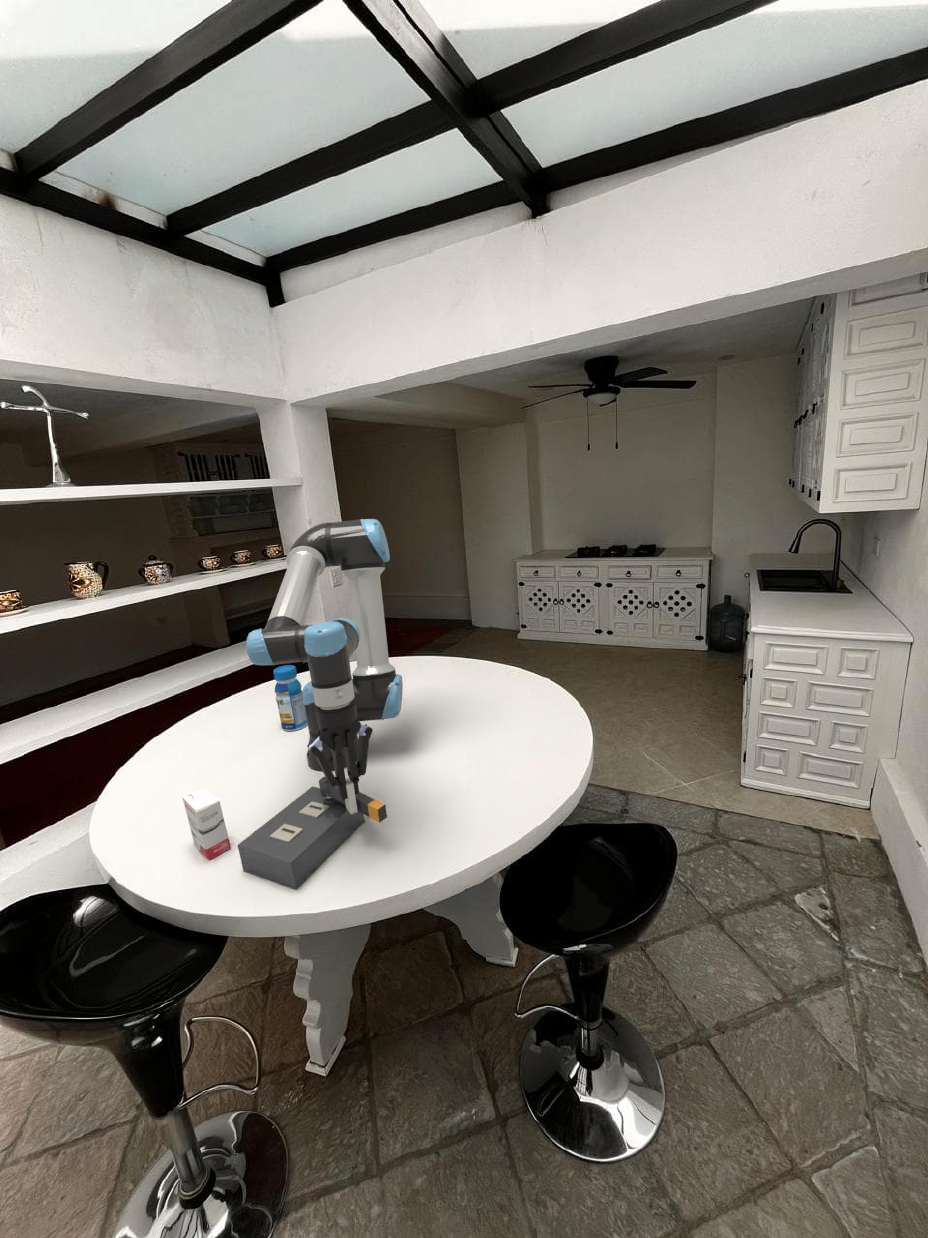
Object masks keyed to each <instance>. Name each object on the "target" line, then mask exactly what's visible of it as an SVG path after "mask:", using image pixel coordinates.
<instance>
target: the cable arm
mask: <svg viewBox="0 0 928 1238" xmlns="http://www.w3.org/2000/svg"><path fill="white" fill-rule="evenodd" d="M318 785H319V788H320V791H321V795H322V796H323V797H331V798H333V799H335V800H337V801H339V802H341V803H343V804H345V805H346V803H345V800H343V799H342V798H341V797H340V795H339V790H338V786H335V787H332V786H331V785H330V783H329V782H328V781H327V779H326V777H325V776H324V777H321V778H320V779H319V781H318ZM355 798H356V804H357V811H358V812H360V813H362V814H364V816H366V817H367V818H369V819H370V820H373V821H375V822H376V823H378V824H381V823H382V822H383V821H385V820H386V819H387V818H388V812H387V806H386V805H387V804H386V803H385V802H382V801H380V800H378V799H376V798H374V797H371V796H369V795H367V794H365V793H363V792H360V791H359V794H357V795H355Z"/></svg>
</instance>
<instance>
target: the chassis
mask: <svg viewBox="0 0 928 1238" xmlns="http://www.w3.org/2000/svg"><path fill="white" fill-rule="evenodd" d="M365 822H366V820H365V815H364V814H362V813H360V812H356V813H354V814H350V812H349V811H348V810H347V809H346V805H345V804H343V803H341V802H339V801H337V800H335V799H333V798H331V797H323V796H322V795H321V791H320V787H316V786H311V787H310V788H308V790H306V791H305V792H303V793H302V794H301V795H300V796H298V797H297V798H296V799H295V800H293V801H292V802H291V803H289V804H288V805H287V806H286V807H284V808H283V809H282V810H281V811H279V812H278V813H276V814H275V815H274V816H272V818H270V819H269V820H267V821H266V822H265V823H264V824H262V825H261V826H260V827H258V828H257V829H256V830H255V831H253V832H252V833H251V834H249V835H248V836H247V837H246V838H245V839H243V840H242V841H241V842H240V843H238V844H237V849H238V854H239V858H240V863H241V865H242V870H243V871H242V872H245V873H247V874H250V875H254V876H255V877H259V878H261V879H264V880H266V881H270V882H272V883H275V884H279V885H281V886H284V887H286V888H289V889H292V890H294V891H297V890H298V889H299V888H300V887H301V886H302V885H303V884H304V883H305V882H306V881H307V880H308V879H309V878H310V877H311V876H313V874H314V873H315V872H316V871H317V870H318V869H319V868H320V867H321V866H322V865H323V864H324V863H325V862H326V861H327V860H328V859H329V858H330V857H331V856H332V855H333V854H334V853H336V851H337V850H338V849H339V848H340V847H341V846H342V845H343V844H344V843H345V842H346V841H347V840H348V839H349V838H350V837H351V836H352V835H353V834H354V833H355V832H356V831H357V830H358V829H359V828H360V827H361V826H362V825H363V824H364V823H365Z"/></svg>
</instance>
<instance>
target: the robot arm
mask: <svg viewBox="0 0 928 1238" xmlns="http://www.w3.org/2000/svg"><path fill="white" fill-rule="evenodd" d="M390 558H391V557H390V549H389V544H388V540H387V536H386V532H385V530H384V527H383V525H382V524H381V522H380V521H379V520H378V519H375V518H367V519H366V518H365V519H363V518H361V519H352V520H350V519H349V520H343V521H342V520H341V521H335V522H322V523H319V524H316V525H314V526H312V527H310V528H309V529H307V530H306V531H304V532H303V533H301V535H300V536H299V537H297V539H296V540H295V541H294V542H293V544H291V546H290V549H289V551H288V553H287V556H286V565H287V569H286V571H285V573H284V577H283V579H282V581H281V584H280V587H279V589H278V590H279V591H278V593H277V595H276V598H275V601H274V603H273V606H272V609H271V612H270V614H269V617H268V619H267V622H266V625H265V627H264V628H259V629H254V630H252V631H251V632H248V635H247V637H246V643H245V644H246V646H245V647H246V653H247V656H248V658H249V660H250V662H251V663H252V664H254V665H256V666H275V665H284V664H292V663H302V662H306V663H307V665H308V669H309V676H310V681H309V682H307V683H306V684H305V685H304V687H303V688H302V694H303V705H304V708H305V714H306V719H307V729H308V733H309V735H308V736H309V739H308V740H309V741H308V744H307V746H306V747H307V752H306V760H307V765H308V767H309V768H310V769H312V770H314V771H318V772H323V774H324V777H326V779H327V781H328V782H329V783H330V785H331V786H332V787H335V786H338V790H339V795H340V797H341V798H342V799H343V800H345V803H346V809H347V810H348V811H349V812H350V814H354V813H356V812H358V811H357V804H356V798H355V795H357V794H359V792H360V788H359V782H360V777H361V776H364V775H365V774H366V773H367V766H368V765H367V764H368V753H369V744H370V738H371V736H372V734H373V732H374V731H373V728H372V727H370V726H369V725H368V724H367V723H365V724H362V723H361V722H367V721H368V722H371V721H380V720H381V721H384V720H388V719H394V718H397V717H398V716H399V714H400V713H401V709H402V704H403V690H404V689H403V688H404V687H403V685H404V684H403V676H402V675H401V674H399V673H398V674H397V671H396V667H395V666H394V665H392V664H391V663H390V661H389V660H390V659H389V658H390V657H389V652H388V651H389V649H388V641H387V639H388V638H387V631H386V630H387V629H386V621H385V611H384V601H383V592H382V583H381V575H382V573H383V572H384V571H385V569H386V566H385V565H386V564H385V563H388V562H389V561H390ZM330 567H340V572H341V574H343V576H345V577H346V578H347V583H348V591H349V592H348V593H349V604H350V612H351V613H350V614H351V619H350V618H346V617H340V618H336V619H334V620H332V621H324V622H317V623H314V624H305V622H306V620H307V616H308V612H309V608H310V605H311V602H312V599H313V596H314V593H315V589H316V588H315V587H316V585H317V582H318V578H319V576H320V575H322V574H323V573H324V571H325V569H327V568H330ZM354 652H355V659H356V667H355V669H354V670H353V672H351V671H352V670H351V663H350V659H351V656H352V655H353V653H354ZM345 768H346V771H347V776H348V777H347V778H346V773H345ZM333 771H334V773H333ZM334 774H335V775H334Z"/></svg>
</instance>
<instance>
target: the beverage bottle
mask: <svg viewBox="0 0 928 1238" xmlns="http://www.w3.org/2000/svg"><path fill="white" fill-rule="evenodd" d="M297 673H298V672H297V668H296V666H295V665H292V664H288V665H281V666H278V667H276V668H275V669H273V677H274V680H275V682H276V683H275V687H274V694H275V695H276V696H275V701H276V705H277V710H278V714H279V718H280V726H281V729H282V730H283V731H285V732H294V731H298V730H301V729H304V728H305V727H306V726H308V724H307V719H306V714H305V708H304V705H303V694H302V691H303V689H302V684H301V682H300V681H299V680H298V678H297V676H298V674H297Z"/></svg>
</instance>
